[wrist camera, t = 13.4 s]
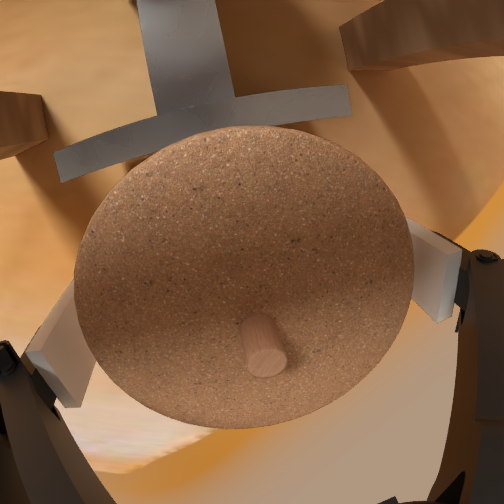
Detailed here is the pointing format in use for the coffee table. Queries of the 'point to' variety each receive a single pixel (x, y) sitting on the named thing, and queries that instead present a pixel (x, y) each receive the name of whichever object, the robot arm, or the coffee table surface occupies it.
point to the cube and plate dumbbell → (193, 91)
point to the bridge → (355, 45)
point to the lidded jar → (244, 277)
